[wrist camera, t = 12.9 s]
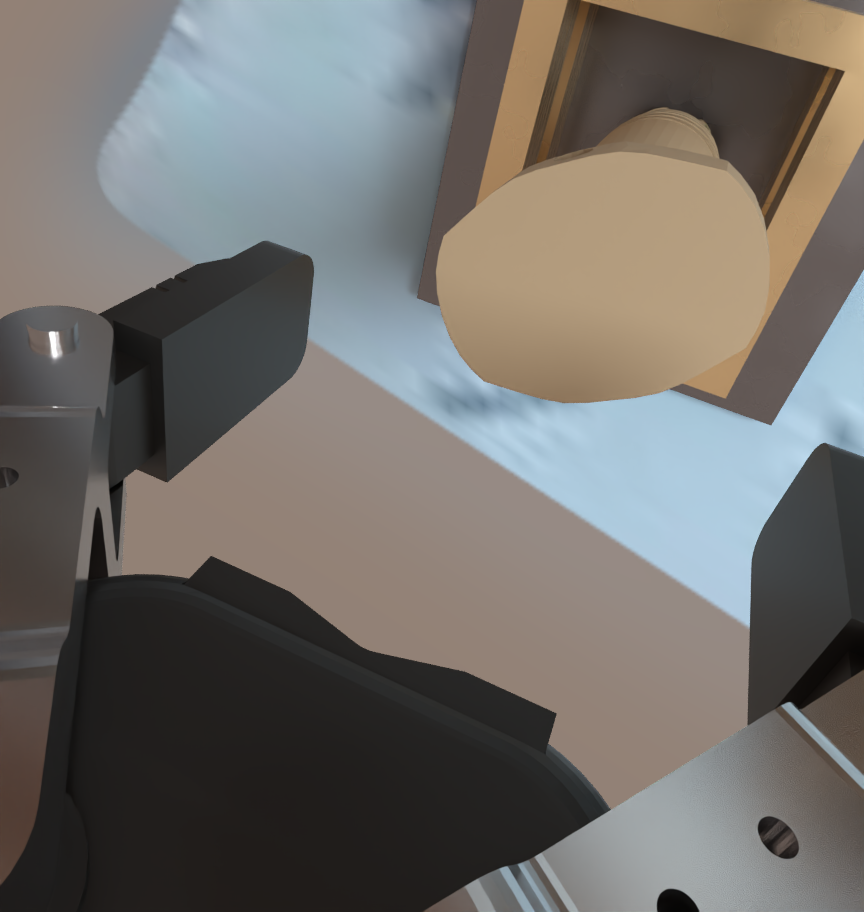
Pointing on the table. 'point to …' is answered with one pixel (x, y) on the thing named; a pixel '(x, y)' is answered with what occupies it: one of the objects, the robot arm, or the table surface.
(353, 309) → the table surface
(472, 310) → the handle
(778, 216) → the collar stand
